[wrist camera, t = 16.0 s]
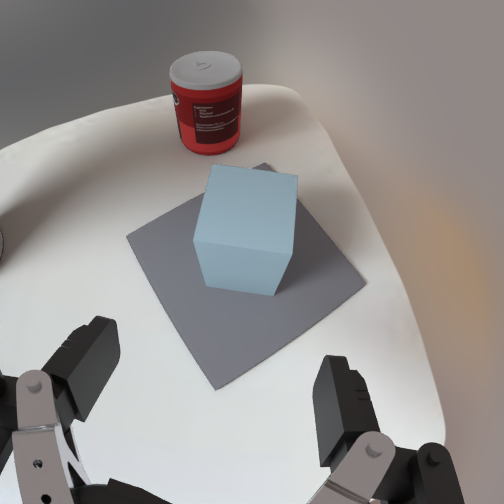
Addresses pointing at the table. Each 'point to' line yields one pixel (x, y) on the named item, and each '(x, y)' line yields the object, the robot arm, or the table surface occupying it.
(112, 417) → the table surface
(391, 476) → the robot arm
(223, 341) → the mat
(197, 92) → the canned food
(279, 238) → the light blue tall box
